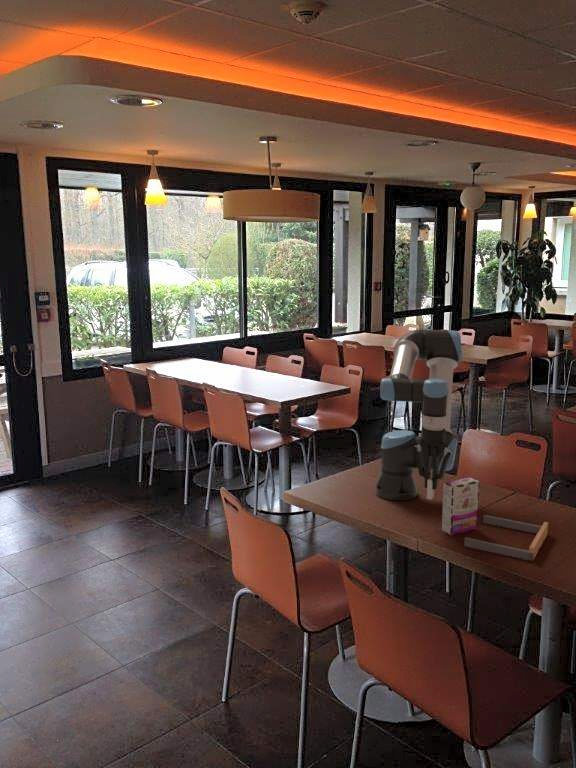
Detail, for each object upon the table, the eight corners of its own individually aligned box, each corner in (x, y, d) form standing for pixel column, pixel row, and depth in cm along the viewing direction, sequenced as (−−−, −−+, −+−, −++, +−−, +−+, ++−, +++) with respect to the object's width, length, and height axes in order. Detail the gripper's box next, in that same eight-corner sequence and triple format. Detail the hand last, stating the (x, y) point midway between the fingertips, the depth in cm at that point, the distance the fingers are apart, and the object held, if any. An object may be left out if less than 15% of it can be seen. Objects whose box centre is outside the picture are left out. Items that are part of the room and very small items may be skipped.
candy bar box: (467, 524, 223) (469, 476, 220) (477, 529, 219) (480, 481, 216) (440, 530, 218) (442, 481, 215) (450, 536, 214) (453, 486, 211)
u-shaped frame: (464, 546, 207) (464, 533, 206) (484, 521, 226) (484, 510, 225) (532, 561, 197) (533, 548, 196) (547, 534, 216) (548, 522, 215)
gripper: (410, 427, 218) (407, 497, 222) (449, 433, 211) (446, 505, 216) (418, 422, 224) (415, 490, 228) (457, 427, 217) (453, 498, 222)
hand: (430, 497), depth 222 cm, fingers closed
